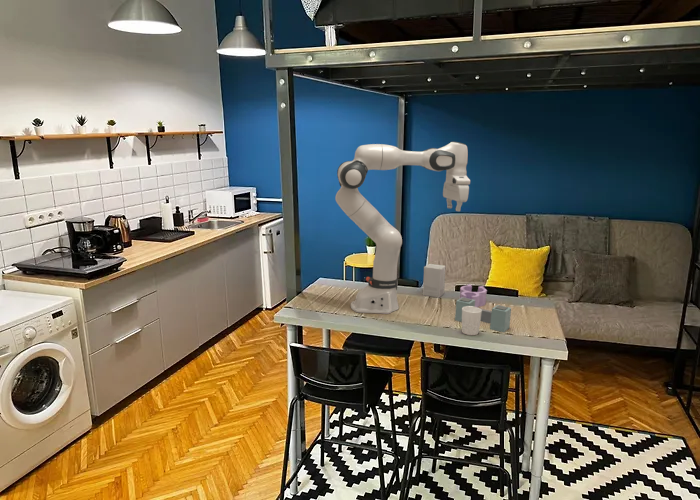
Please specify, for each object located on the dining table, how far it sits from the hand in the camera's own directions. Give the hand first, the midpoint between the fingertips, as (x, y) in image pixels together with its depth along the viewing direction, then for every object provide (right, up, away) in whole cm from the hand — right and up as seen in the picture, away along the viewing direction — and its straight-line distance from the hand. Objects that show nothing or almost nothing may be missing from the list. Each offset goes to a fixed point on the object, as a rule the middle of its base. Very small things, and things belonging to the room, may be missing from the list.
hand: (453, 209), depth 227 cm
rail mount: (+10, -50, -10) cm, 52 cm away
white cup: (+3, -52, -20) cm, 56 cm away
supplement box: (-4, -41, +30) cm, 51 cm away
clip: (+12, -45, +16) cm, 49 cm away
